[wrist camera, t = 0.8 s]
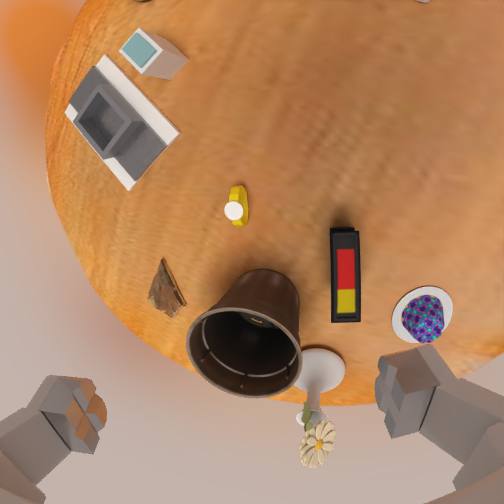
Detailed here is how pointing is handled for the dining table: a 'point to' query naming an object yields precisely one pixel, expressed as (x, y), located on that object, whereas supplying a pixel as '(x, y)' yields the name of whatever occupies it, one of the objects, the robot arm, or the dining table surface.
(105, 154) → the rail holder
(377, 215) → the dining table surface
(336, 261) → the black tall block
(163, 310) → the shard
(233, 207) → the watch
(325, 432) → the flower in vase
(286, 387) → the plant pot
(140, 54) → the module block
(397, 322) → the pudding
